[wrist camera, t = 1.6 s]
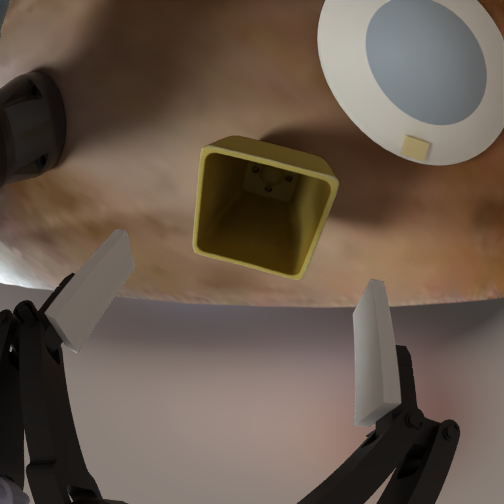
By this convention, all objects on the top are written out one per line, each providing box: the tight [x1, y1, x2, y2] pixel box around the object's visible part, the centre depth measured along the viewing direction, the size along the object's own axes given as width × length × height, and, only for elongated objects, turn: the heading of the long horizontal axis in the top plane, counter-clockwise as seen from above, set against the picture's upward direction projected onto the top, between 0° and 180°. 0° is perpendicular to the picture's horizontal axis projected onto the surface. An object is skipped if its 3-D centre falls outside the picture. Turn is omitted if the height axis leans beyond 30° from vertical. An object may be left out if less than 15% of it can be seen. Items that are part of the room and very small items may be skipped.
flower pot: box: [193, 136, 339, 280], centre depth 22 cm, size 9×9×9 cm
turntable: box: [317, 0, 504, 165], centre depth 12 cm, size 18×18×7 cm
